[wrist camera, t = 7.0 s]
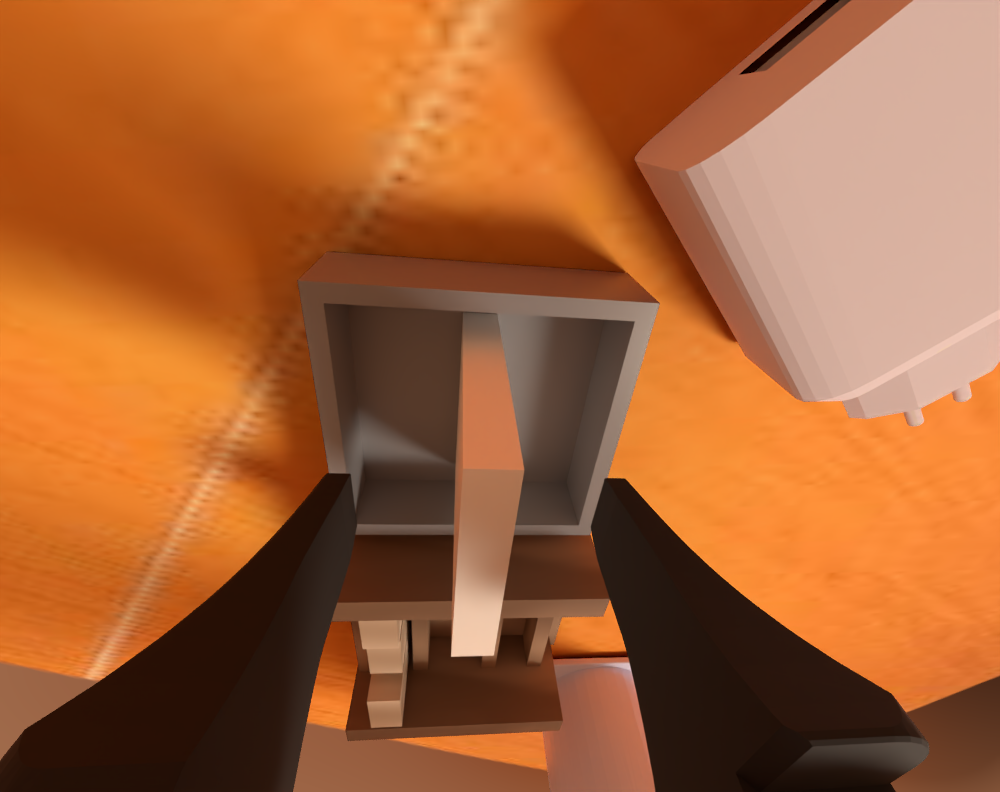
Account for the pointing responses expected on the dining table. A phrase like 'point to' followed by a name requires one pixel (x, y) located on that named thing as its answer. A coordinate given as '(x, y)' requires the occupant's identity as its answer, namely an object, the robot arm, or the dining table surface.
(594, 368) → the tray
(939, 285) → the charger
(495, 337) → the sheet
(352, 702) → the rack
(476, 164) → the dining table surface
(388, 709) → the offcuts
